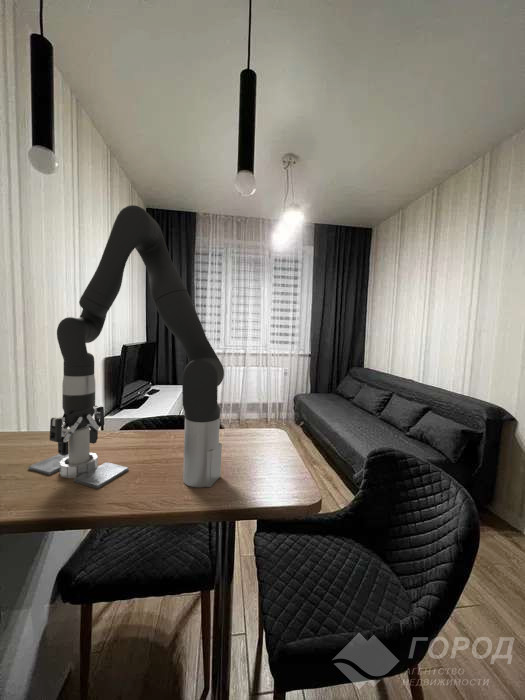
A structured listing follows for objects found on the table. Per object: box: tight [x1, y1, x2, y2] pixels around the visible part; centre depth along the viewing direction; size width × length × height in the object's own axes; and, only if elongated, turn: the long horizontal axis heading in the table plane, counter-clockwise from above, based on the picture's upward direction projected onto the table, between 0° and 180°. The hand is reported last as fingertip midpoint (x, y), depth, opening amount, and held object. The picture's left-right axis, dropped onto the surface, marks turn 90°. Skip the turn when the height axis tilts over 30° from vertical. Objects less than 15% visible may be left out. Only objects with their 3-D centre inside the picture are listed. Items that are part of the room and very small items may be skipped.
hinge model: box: [28, 451, 129, 490], centre depth 78 cm, size 25×10×3 cm, turn 72°
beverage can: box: [68, 425, 91, 465], centre depth 77 cm, size 5×5×12 cm
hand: (79, 448), depth 77 cm, fingers open, 8 cm apart
